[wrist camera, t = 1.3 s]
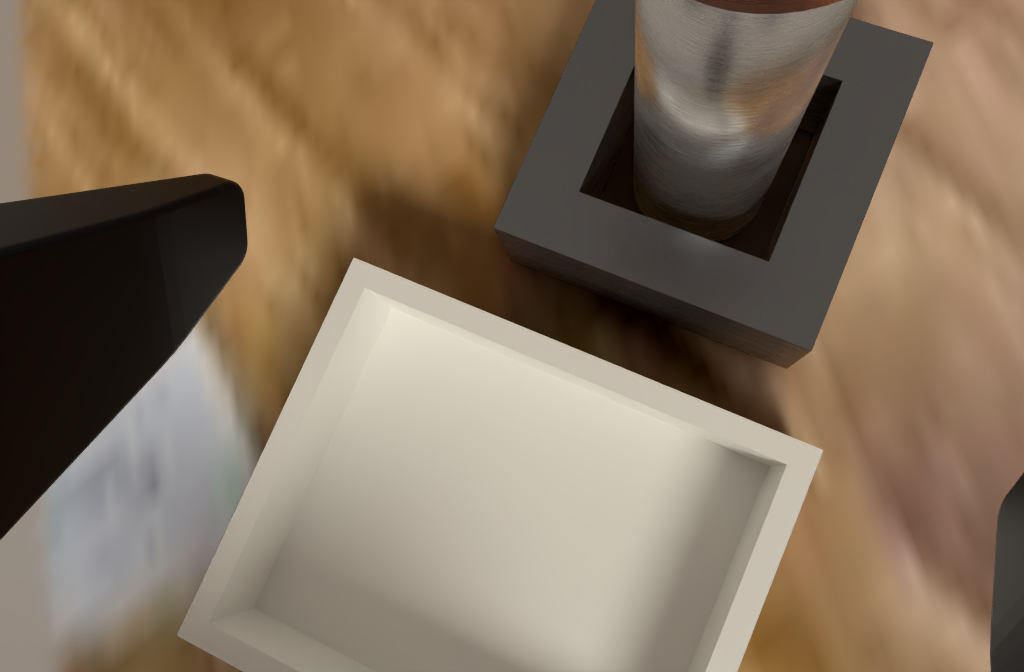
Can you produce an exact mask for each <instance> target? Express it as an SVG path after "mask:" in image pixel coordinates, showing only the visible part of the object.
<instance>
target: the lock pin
mask: <svg viewBox="0 0 1024 672" xmlns="http://www.w3.org/2000/svg"><path fill="white" fill-rule="evenodd" d="M857 1H858V0H635V85H634V181H633V184H634V194H635V199H636V202H637V205H638V207H639V209H640V211H641V213H642V215H643V216H646V217H649V218H651V219H654V220H657V221H660V222H662V223H665V224H668V225H670V226H673V227H676V228H679V229H681V230H684V231H687V232H689V233H692V234H695V235H698V236H700V237H703V238H706V239H709V240H711V241H714V242H719V241H722V240H725V239H727V238H729V237H732V236H734V235H735V234H737V233H738V232H740V231H741V230H742V229H743V228H745V227H746V226H747V225H748V224H749V223H750V222H751V221H752V219H753V218H754V217H755V215H756V214H757V212H758V211H759V209H760V206H761V204H762V202H763V200H764V198H765V196H766V194H767V192H768V190H769V188H770V185H771V183H772V181H773V179H774V177H775V175H776V173H777V171H778V168H779V166H780V164H781V162H782V160H783V158H784V156H785V154H786V152H787V149H788V147H789V145H790V143H791V141H792V139H793V137H794V135H795V132H796V130H797V128H798V126H799V124H800V122H801V120H802V118H803V115H804V113H805V111H806V109H807V107H808V105H809V103H810V101H811V99H812V96H813V94H814V92H815V90H816V88H817V86H818V84H819V82H820V79H821V77H822V75H823V73H824V71H825V69H826V67H827V65H828V63H829V60H830V58H831V56H832V54H833V52H834V50H835V48H836V46H837V43H838V41H839V39H840V37H841V35H842V33H843V31H844V29H845V26H846V24H847V22H848V20H849V18H850V16H851V14H852V12H853V10H854V7H855V5H856V3H857Z"/></svg>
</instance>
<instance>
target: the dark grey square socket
mask: <svg viewBox="0 0 1024 672" xmlns="http://www.w3.org/2000/svg"><path fill="white" fill-rule="evenodd" d="M932 45H933V42H930V41H926V40H923V39H920V38H916V37H913V36H910V35H906V34H903V33H900V32H896V31H893V30H890V29H886V28H883V27H880V26H876V25H873V24H870V23H866V22H863V21H860V20H856V19H853V18H849V20H848V22H847V24H846V26H845V29H844V31H843V33H842V35H841V37H840V39H839V41H838V43H837V46H836V48H835V50H834V52H833V54H832V56H831V58H830V60H829V63H828V65H827V67H826V69H825V71H824V73H823V75H822V77H821V79H820V82H819V84H818V86H817V88H816V90H815V92H814V94H813V96H812V99H811V101H810V103H809V105H808V107H807V109H806V111H805V113H804V115H803V118H802V120H801V122H800V124H799V126H798V128H799V129H802V130H805V131H808V132H811V133H814V134H815V135H814V137H813V139H812V142H811V144H810V147H809V149H808V152H807V154H806V157H805V159H804V162H803V164H802V166H801V169H800V171H799V174H798V176H797V179H796V181H795V184H794V186H793V188H792V191H791V193H790V196H789V198H788V201H787V203H786V206H785V208H784V211H783V213H782V215H781V218H780V220H779V223H778V225H777V228H776V230H775V233H774V235H773V237H772V240H771V242H770V245H769V247H768V250H767V252H766V255H765V257H764V259H760V258H757V257H755V256H752V255H749V254H747V253H744V252H741V251H738V250H736V249H733V248H730V247H728V246H725V245H722V244H719V243H717V242H714V241H711V240H709V239H706V238H703V237H700V236H698V235H695V234H692V233H689V232H687V231H684V230H681V229H679V228H676V227H673V226H670V225H668V224H665V223H662V222H660V221H657V220H654V219H651V218H649V217H646V216H643V215H641V214H638V213H635V212H632V211H630V210H627V209H624V208H622V207H619V206H616V205H613V204H611V203H608V202H605V201H603V200H600V199H599V197H600V195H601V192H602V190H603V188H604V186H605V183H606V181H607V179H608V176H609V174H610V172H611V170H612V167H613V165H614V163H615V160H616V158H617V156H618V153H619V151H620V149H621V147H622V144H623V142H624V140H625V137H626V135H627V133H628V131H629V128H630V126H631V124H632V121H633V119H634V85H635V0H596V1H595V3H594V5H593V7H592V10H591V12H590V14H589V16H588V19H587V21H586V23H585V25H584V28H583V30H582V32H581V34H580V36H579V39H578V41H577V43H576V45H575V48H574V50H573V52H572V54H571V56H570V59H569V61H568V63H567V65H566V68H565V70H564V72H563V74H562V76H561V79H560V81H559V83H558V85H557V88H556V90H555V92H554V94H553V96H552V99H551V101H550V103H549V105H548V108H547V110H546V112H545V114H544V116H543V119H542V121H541V123H540V125H539V128H538V130H537V132H536V134H535V136H534V139H533V141H532V143H531V145H530V148H529V150H528V152H527V154H526V156H525V159H524V161H523V163H522V165H521V168H520V170H519V172H518V174H517V176H516V179H515V181H514V183H513V185H512V188H511V190H510V192H509V194H508V196H507V199H506V201H505V203H504V205H503V208H502V210H501V212H500V214H499V216H498V219H497V221H496V223H495V225H494V230H495V231H496V233H497V235H498V237H499V239H500V241H501V243H502V244H503V246H504V248H505V250H506V252H507V254H508V256H509V257H510V259H511V260H512V261H514V262H517V263H519V264H522V265H524V266H527V267H529V268H532V269H534V270H537V271H540V272H542V273H545V274H547V275H550V276H552V277H555V278H557V279H560V280H562V281H565V282H567V283H570V284H573V285H575V286H578V287H580V288H583V289H585V290H588V291H590V292H593V293H595V294H598V295H600V296H603V297H606V298H608V299H611V300H613V301H616V302H618V303H621V304H623V305H626V306H628V307H631V308H634V309H636V310H639V311H641V312H644V313H646V314H649V315H651V316H654V317H656V318H659V319H661V320H664V321H667V322H669V323H672V324H674V325H677V326H679V327H682V328H684V329H687V330H689V331H692V332H695V333H697V334H700V335H702V336H705V337H707V338H710V339H712V340H715V341H717V342H720V343H722V344H725V345H728V346H730V347H733V348H735V349H738V350H740V351H743V352H745V353H748V354H750V355H753V356H755V357H758V358H761V359H763V360H766V361H768V362H771V363H773V364H776V365H778V366H781V367H783V368H786V369H787V368H788V367H790V366H791V365H793V364H794V363H795V362H797V361H798V360H799V359H801V358H802V357H804V356H805V355H806V354H808V353H809V352H810V351H812V349H813V346H814V344H815V341H816V338H817V336H818V333H819V331H820V328H821V326H822V323H823V321H824V318H825V316H826V313H827V311H828V308H829V306H830V303H831V301H832V298H833V296H834V293H835V290H836V288H837V285H838V283H839V280H840V278H841V275H842V273H843V270H844V268H845V265H846V263H847V260H848V258H849V255H850V253H851V250H852V248H853V245H854V242H855V240H856V237H857V235H858V232H859V230H860V227H861V225H862V222H863V220H864V217H865V215H866V212H867V210H868V207H869V205H870V202H871V200H872V197H873V194H874V192H875V189H876V187H877V184H878V182H879V179H880V177H881V174H882V172H883V169H884V167H885V164H886V162H887V159H888V157H889V154H890V152H891V149H892V147H893V144H894V141H895V139H896V136H897V134H898V131H899V129H900V126H901V124H902V121H903V119H904V116H905V114H906V111H907V109H908V106H909V104H910V101H911V99H912V96H913V93H914V91H915V88H916V86H917V83H918V81H919V78H920V76H921V73H922V71H923V68H924V66H925V63H926V61H927V58H928V56H929V53H930V51H931V48H932Z"/></svg>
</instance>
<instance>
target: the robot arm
mask: <svg viewBox="0 0 1024 672" xmlns="http://www.w3.org/2000/svg"><path fill="white" fill-rule="evenodd" d="M246 251H247V229H246V215H245V201H244V193H243V191H242V188H241V187H240V186H239V185H238V184H237V183H236V182H233V181H231V180H227V179H224V178H221V177H218V176H215V175H212V174H199V175H192V176H185V177H178V178H171V179H165V180H158V181H151V182H144V183H137V184H130V185H124V186H117V187H110V188H103V189H96V190H89V191H83V192H76V193H69V194H62V195H55V196H48V197H42V198H35V199H28V200H21V201H14V202H7V203H1V204H0V540H1V539H2V538H3V536H5V535H6V533H7V532H8V531H9V530H10V529H11V528H12V527H13V526H14V525H15V524H16V523H17V522H18V521H19V519H20V518H21V517H22V516H23V515H24V514H25V513H26V512H27V511H28V510H29V509H30V508H31V507H32V506H33V504H34V503H35V502H36V501H37V500H38V499H39V498H40V497H41V496H42V495H43V494H44V493H45V492H46V491H47V489H48V488H49V487H50V486H51V485H52V484H53V483H54V482H55V481H56V480H57V479H58V478H59V477H60V476H61V474H62V473H63V472H64V471H65V470H66V469H67V468H68V467H69V466H70V465H71V464H72V463H73V462H74V461H75V459H76V458H77V457H78V456H79V455H80V454H81V453H82V452H83V451H84V450H85V449H86V448H87V447H88V446H89V444H90V443H91V442H92V441H93V440H94V439H95V438H96V437H97V436H98V435H99V434H100V433H101V432H102V430H103V429H104V428H105V427H106V426H107V425H108V424H109V423H110V422H111V421H112V420H113V419H114V418H115V417H116V415H117V414H118V413H119V412H120V411H121V410H122V409H123V408H124V407H125V406H126V405H127V404H128V403H129V402H130V400H131V399H132V398H133V397H134V396H135V395H136V394H137V393H138V392H139V391H140V390H141V389H142V388H143V387H144V385H145V384H146V383H147V382H148V381H149V380H150V379H151V378H152V377H153V376H154V375H155V374H156V373H157V372H158V370H159V369H160V368H161V367H162V366H163V365H164V364H165V363H166V362H167V360H168V359H169V358H170V357H171V356H172V355H173V354H174V353H175V351H176V350H177V349H178V347H179V346H180V345H181V344H182V342H183V341H184V340H185V339H186V337H187V336H188V335H189V333H190V332H191V331H192V329H193V328H194V327H195V325H196V324H197V323H198V321H199V320H200V319H201V317H202V316H203V315H204V313H205V312H206V311H207V309H208V308H209V307H210V305H211V304H212V303H213V301H214V300H215V299H216V297H217V296H218V295H219V293H220V292H221V290H222V289H223V288H224V286H225V285H226V284H227V282H228V281H229V280H230V278H231V277H232V276H233V274H234V273H235V272H236V270H237V269H238V268H239V266H240V265H241V263H242V262H243V259H244V257H245V254H246ZM990 663H991V672H1024V473H1023V474H1022V476H1021V477H1020V478H1019V480H1018V481H1017V482H1016V483H1015V485H1014V486H1013V487H1012V489H1011V490H1010V491H1009V493H1008V494H1007V495H1006V497H1005V498H1004V500H1003V502H1002V504H1001V507H1000V510H999V513H998V518H997V532H996V549H995V566H994V583H993V599H992V616H991V636H990Z"/></svg>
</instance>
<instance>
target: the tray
mask: <svg viewBox="0 0 1024 672" xmlns="http://www.w3.org/2000/svg"><path fill="white" fill-rule="evenodd" d="M822 452H823V450H822V449H819V448H817V447H814V446H812V445H809V444H807V443H805V442H802V441H800V440H797V439H795V438H792V437H790V436H788V435H785V434H783V433H780V432H778V431H775V430H773V429H771V428H768V427H766V426H763V425H761V424H758V423H756V422H753V421H751V420H749V419H746V418H744V417H741V416H739V415H736V414H734V413H732V412H729V411H727V410H724V409H722V408H719V407H717V406H714V405H712V404H710V403H707V402H705V401H702V400H700V399H697V398H695V397H693V396H690V395H688V394H685V393H683V392H680V391H678V390H676V389H673V388H671V387H668V386H666V385H663V384H661V383H658V382H656V381H654V380H651V379H649V378H646V377H644V376H641V375H639V374H637V373H634V372H632V371H629V370H627V369H624V368H622V367H619V366H617V365H615V364H612V363H610V362H607V361H605V360H602V359H600V358H598V357H595V356H593V355H590V354H588V353H585V352H583V351H581V350H578V349H576V348H573V347H571V346H568V345H566V344H563V343H561V342H559V341H556V340H554V339H551V338H549V337H546V336H544V335H542V334H539V333H537V332H534V331H532V330H529V329H527V328H524V327H522V326H520V325H517V324H515V323H512V322H510V321H507V320H505V319H503V318H500V317H498V316H495V315H493V314H490V313H488V312H486V311H483V310H481V309H478V308H476V307H473V306H471V305H468V304H466V303H464V302H461V301H459V300H456V299H454V298H451V297H449V296H447V295H444V294H442V293H439V292H437V291H434V290H432V289H429V288H427V287H425V286H422V285H420V284H417V283H415V282H412V281H410V280H408V279H405V278H403V277H400V276H398V275H395V274H393V273H391V272H388V271H386V270H383V269H381V268H378V267H376V266H373V265H371V264H369V263H366V262H364V261H361V260H359V259H356V258H353V260H352V262H351V264H350V267H349V269H348V271H347V273H346V275H345V277H344V279H343V281H342V284H341V286H340V288H339V290H338V292H337V294H336V296H335V299H334V301H333V303H332V305H331V307H330V309H329V311H328V313H327V316H326V318H325V320H324V322H323V324H322V326H321V328H320V331H319V333H318V335H317V337H316V339H315V341H314V343H313V346H312V348H311V350H310V352H309V354H308V356H307V358H306V360H305V363H304V365H303V367H302V369H301V371H300V373H299V375H298V378H297V380H296V382H295V384H294V386H293V388H292V390H291V392H290V395H289V397H288V399H287V401H286V403H285V405H284V407H283V410H282V412H281V414H280V416H279V418H278V420H277V422H276V425H275V427H274V429H273V431H272V433H271V435H270V437H269V439H268V442H267V444H266V446H265V448H264V450H263V452H262V454H261V457H260V459H259V461H258V463H257V465H256V467H255V469H254V471H253V474H252V476H251V478H250V480H249V482H248V484H247V486H246V489H245V491H244V493H243V495H242V497H241V499H240V501H239V504H238V506H237V508H236V510H235V512H234V514H233V516H232V518H231V521H230V523H229V525H228V527H227V529H226V531H225V533H224V536H223V538H222V540H221V542H220V544H219V546H218V548H217V550H216V553H215V555H214V557H213V559H212V561H211V563H210V565H209V568H208V570H207V572H206V574H205V576H204V578H203V580H202V583H201V585H200V587H199V589H198V591H197V593H196V595H195V597H194V600H193V602H192V604H191V606H190V608H189V610H188V612H187V615H186V617H185V619H184V621H183V623H182V625H181V627H180V629H179V632H178V634H177V636H178V637H180V638H182V639H184V640H186V641H187V642H189V643H191V644H193V645H195V646H197V647H198V648H200V649H202V650H204V651H206V652H208V653H209V654H211V655H213V656H215V657H217V658H218V659H220V660H222V661H224V662H226V663H228V664H229V665H231V666H233V667H235V668H237V669H239V670H240V671H242V672H737V671H738V668H739V666H740V663H741V661H742V658H743V655H744V653H745V650H746V648H747V645H748V643H749V640H750V637H751V635H752V632H753V630H754V627H755V625H756V622H757V619H758V617H759V614H760V612H761V609H762V607H763V604H764V601H765V599H766V596H767V594H768V591H769V589H770V586H771V583H772V581H773V578H774V576H775V573H776V571H777V568H778V565H779V563H780V560H781V558H782V555H783V553H784V550H785V547H786V545H787V542H788V540H789V537H790V535H791V532H792V529H793V527H794V524H795V522H796V519H797V517H798V514H799V511H800V509H801V506H802V504H803V501H804V499H805V496H806V493H807V491H808V488H809V486H810V483H811V481H812V478H813V475H814V473H815V470H816V468H817V465H818V463H819V460H820V457H821V455H822Z"/></svg>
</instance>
